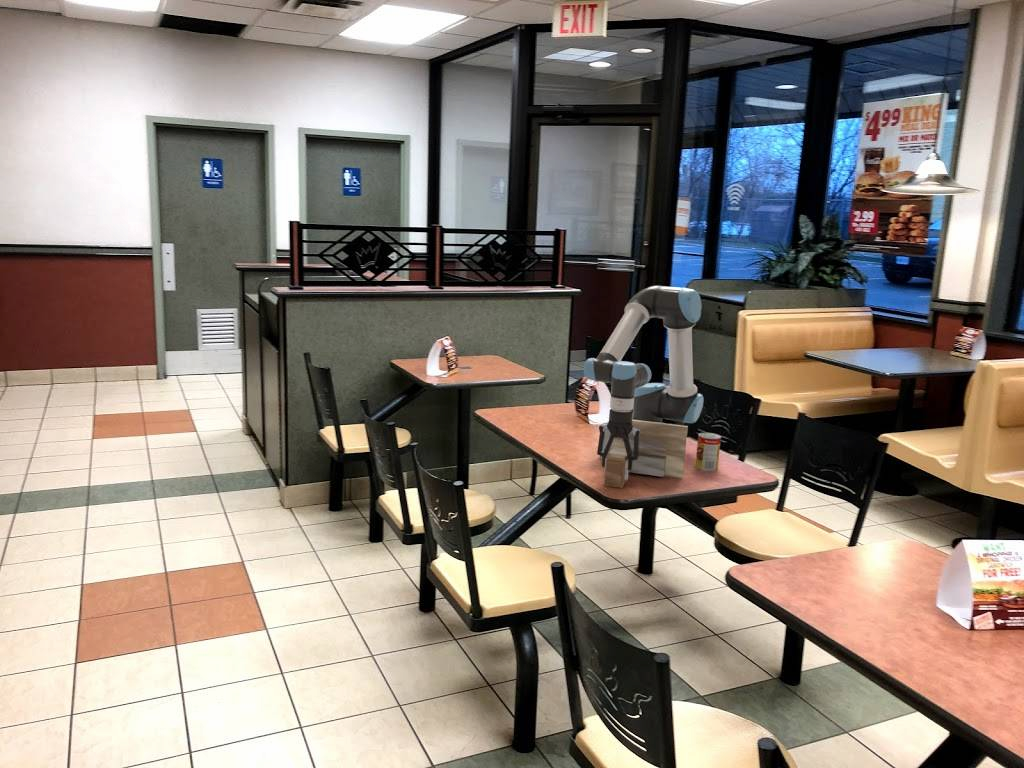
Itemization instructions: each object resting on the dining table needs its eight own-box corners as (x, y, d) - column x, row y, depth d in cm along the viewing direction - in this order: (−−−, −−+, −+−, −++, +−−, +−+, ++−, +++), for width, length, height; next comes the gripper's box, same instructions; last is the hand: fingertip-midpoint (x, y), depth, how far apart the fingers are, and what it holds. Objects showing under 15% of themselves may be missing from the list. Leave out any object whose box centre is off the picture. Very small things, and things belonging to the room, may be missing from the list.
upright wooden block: (611, 474, 283) (613, 446, 281) (628, 477, 281) (631, 449, 279) (603, 486, 271) (605, 456, 269) (621, 488, 269) (624, 459, 267)
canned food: (712, 464, 301) (715, 432, 299) (721, 471, 294) (724, 438, 291) (691, 464, 300) (694, 432, 297) (700, 471, 292) (703, 438, 290)
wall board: (608, 466, 292) (612, 417, 289) (683, 477, 285) (687, 426, 281) (604, 471, 286) (608, 420, 283) (680, 482, 279) (685, 430, 275)
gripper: (590, 408, 269) (585, 476, 273) (648, 415, 263) (642, 485, 268) (595, 403, 276) (590, 470, 280) (652, 410, 270) (646, 478, 275)
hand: (616, 477), depth 274 cm, fingers closed on upright wooden block, 6 cm apart
